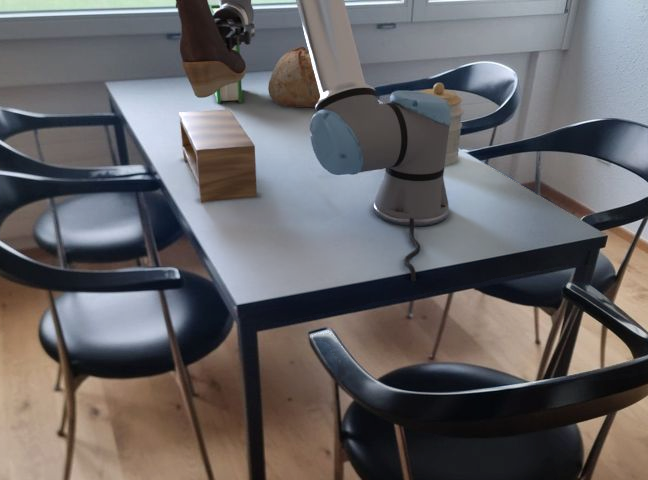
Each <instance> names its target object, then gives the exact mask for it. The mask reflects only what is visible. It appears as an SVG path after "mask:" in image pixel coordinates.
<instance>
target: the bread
mask: <svg viewBox="0 0 648 480" xmlns="http://www.w3.org/2000/svg"><path fill="white" fill-rule="evenodd" d="M273 68H274V69H273V70H272V73H271V76H270V78H269V81H268V87H267V88H268V89H267V90H268V95H269V97H270V98H271V100H272V101H273V102H274V103H276V104H277V105H280V106H283V107H288V108H315V107H316V104H317V103H318V101H319V99H320V97H321V96H320V92H319V88H318V84H317V81H316V77H315V73H314V69H313V65H312V61H311V57H310V53H309V49H306V48H305V46H298V47H295V48H293V49H291V50H289V51H288V52H286V53H285V54H283V55H282V56H281V57H280V58H279V60H278V61H277V62H276V65H275V67H273Z"/></svg>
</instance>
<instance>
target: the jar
mask: <svg viewBox="0 0 648 480" xmlns="http://www.w3.org/2000/svg"><path fill="white" fill-rule="evenodd" d="M420 92H422V93H426V94H431V95H434V96H438V97H440V98H442V99H444V100H446V101H447V102H448V103H449V105H450V108H451V113H450V124H451V125H450V126H449V133H448V141H447V149H446V158H445V166H448V165H452V164H454V163H455V162H457V158H458V156H459V152H460V150H459V146H460V139H461V131H462V128H463V123H462V121H461V120H462V115H463V114H464V113H465V109H464V107H463V106H461V105H460V104H461V103H462V101H463V99H462V97H460V96H459V95H458V94H457V93H456V92H455V91H453V90H449V89H445V85H444V83H442V82H436V83H434V85H433V87H432V88H427V89H423V90H421V91H420Z"/></svg>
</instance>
